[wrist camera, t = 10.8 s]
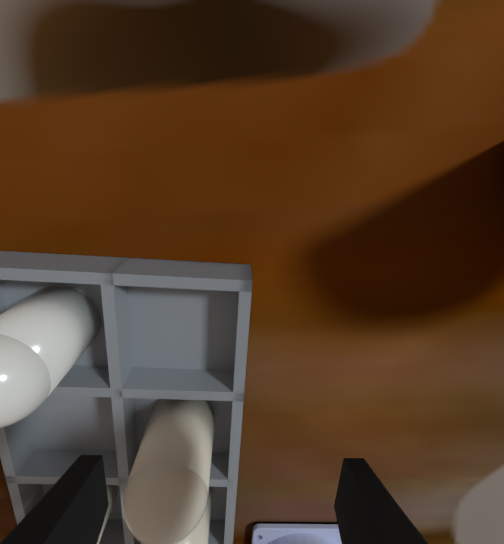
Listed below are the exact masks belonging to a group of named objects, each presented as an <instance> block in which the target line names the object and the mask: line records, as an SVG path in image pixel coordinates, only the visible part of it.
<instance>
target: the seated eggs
mask: <svg viewBox="0 0 504 544" xmlns="http://www.w3.org/2000/svg"><path fill="white" fill-rule="evenodd" d="M214 426H215V411H214V408H213V406H212V405H211V403H210V402H209V401H208V400H179V399H159V400H158V401H157V402H156V403H155V405H154V407H153V410H152V413H151V416H150V418H149V421H148V424H147V427H146V430H145V433H144V436H143V439H142V441H141V444H140V447H139V450H138V453H137V456H136V459H135V462H134V464H133V467H132V470H131V473H130V476H129V479H128V482H127V485H126V488H125V492H124V497H123V513H124V519H125V522H126V524H127V527H128V529H129V531H130V532H131V534H132V535H133V536H134V537H135V538H136V539H137V540H138V541H139V542H141V544H208V539H209V526H210V514H211V502H212V487H210V486H209V479H210V468H211V458H212V447H213V436H214ZM106 487H107V495H108V503H109V505H108V509H107V512H106V516H105V519H104V522H103V526H102V529H101V532H100V536H99V539H98V542H97V544H99V542H100V540H101V537H102V534H103V531H104V529H105V526H106V523H107V520H108V518H109V515H110V512H111V510H112V507H113V504H114V501H115V499H116V496H117V487H116V485H106Z"/></svg>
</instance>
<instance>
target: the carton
mask: <svg viewBox="0 0 504 544" xmlns="http://www.w3.org/2000/svg"><path fill="white" fill-rule="evenodd" d="M51 285H63V286H68V287H71V288H74V289H76V290H78V291H80V292H82V293H83V294H85V295H86V296H87V297H88V298H89V299H90V300H91V301H92V302H93V303H94V305H95V306H96V308H97V310H98V312H99V316H100V330H99V333H98V335H97V336H96V338H95V339H94V340H93V342H92V343H91V344H90V345H89V347H88V348H87V349H86V350H85V351H84V353H83V354H82V355H81V356H80V358H79V359H78V360H77V361H76V363H75V364H74V365H73V366H72V368H71V369H70V370H69V371H68V372H67V374H66V375H65V376H64V377H63V379H62V380H61V381H60V382H59V384H58V385H57V386H56V387H55V389H54V390H53V391H52V392H51V393H50V395H49V396H48V397H47V398H46V400H45V401H44V402H43V403H42V404H41V405H40V406H39V407H38V408H37V409H36V410H35V411H34V412H33V413H31V414H30V415H29V416H27V417H25V418H24V419H22V420H20V421H18V422H16V423H14V424H12V425H9V426H6V427H3V428H0V458H1V462H2V466H3V470H4V474H5V478H6V482H7V486H8V490H9V494H10V498H11V502H12V506H13V510H14V514H15V518H16V521H17V525H18V524H19V523H20V522H21V520H22V519H23V518H24V517H25V516H26V515H27V514H28V513H29V512H30V511H31V510H32V509H33V508H34V507H35V505H36V504H37V503H38V502H39V501H40V500H41V499H42V498H43V497H44V495H45V494H46V493H47V492H48V491H49V490H50V489H51V488H52V487H53V485H54V484H55V483H56V482H57V481H58V480H59V479H60V478H61V476H62V475H63V474H64V473H65V472H66V471H67V470H68V468H69V467H70V466H71V465H72V464H73V463H74V462H75V460H76V459H77V458H78V457H79V456H81V455H103V463H104V471H105V479H106V485H116V487H117V496H116V499H115V501H114V504H113V507H112V510H111V512H110V515H109V518H108V520H107V523H106V526H105V529H104V531H103V534H102V537H101V540H100V542H99V544H141V542H139V541H138V540H137V539H136V538H135V537H134V536H133V535H132V534H131V532H130V531H129V529H128V527H127V524H126V522H125V519H124V513H123V497H124V492H125V488H126V485H127V482H128V479H129V476H130V473H131V470H132V467H133V464H134V462H135V459H136V456H137V453H138V450H139V447H140V444H141V441H142V439H143V436H144V433H145V430H146V427H147V424H148V421H149V418H150V416H151V413H152V410H153V407H154V405H155V403H156V402H157V401H158V400H159V399H179V400H208V401H209V402H210V403H211V405H212V406H213V408H214V411H215V426H214V436H213V447H212V458H211V468H210V479H209V486H210V487H212V502H211V514H210V526H209V539H208V544H233V534H234V521H235V508H236V494H237V481H238V467H239V454H240V440H241V427H242V414H243V400H244V387H245V373H246V360H247V346H248V333H249V320H250V306H251V293H252V272H251V265H249V264H231V263H212V262H194V261H175V260H157V259H139V258H120V257H102V256H84V255H65V254H47V253H29V252H10V251H0V314H2V313H3V312H5V311H7V310H8V309H10V308H11V307H13V306H14V305H16V304H17V303H19V302H20V301H22V300H23V299H25V298H27V297H28V296H30V295H31V294H33V293H34V292H36V291H37V290H39V289H41V288H43V287H46V286H51Z"/></svg>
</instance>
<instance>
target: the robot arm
mask: <svg viewBox="0 0 504 544" xmlns="http://www.w3.org/2000/svg"><path fill="white" fill-rule="evenodd" d="M108 505H109V503H108V495H107V487H106V479H105V471H104V463H103V455H81V456H79V457H78V458H77V459H76V460H75V462H74V463H73V464H72V465H71V466H70V467H69V468H68V470H67V471H66V472H65V473H64V474H63V475H62V476H61V478H60V479H59V480H58V481H57V482H56V483H55V484H54V485H53V487H52V488H51V489H50V490H49V491H48V492H47V493H46V494H45V495H44V497H43V498H42V499H41V500H40V501H39V502H38V503H37V504H36V505H35V507H34V508H33V509H32V510H31V511H30V512H29V513H28V514H27V515H26V516H25V517H24V518H23V519H22V520H21V522H20V523H19V524H18V525H17V526H16V527H15V528H14V529H13V530H12V531H11V532H10V533H9V534H8V535H7V537H6V538H5V539H4V540H3V541H2V542H1V543H0V544H97V542H98V539H99V536H100V532H101V529H102V526H103V522H104V519H105V516H106V512H107V509H108ZM334 507H335V512H336V518H337V523H338V524H256V525H255V526H254V527H253V532H252V541H251V544H428V543H427V541H426V540H425V539H424V538H423V536H422V535H421V534H420V532H419V531H418V530H417V529H416V527H415V526H414V525H413V524H412V522H411V521H410V520H409V519H408V517H407V516H406V515H405V513H404V512H403V511H402V509H401V508H400V507H399V505H398V504H397V503H396V501H395V500H394V499H393V497H392V496H391V495H390V493H389V492H388V491H387V489H386V488H385V487H384V485H383V484H382V483H381V481H380V480H379V478H378V477H377V476H376V474H375V473H374V472H373V470H372V469H371V467H370V466H369V465H368V463H367V462H366V461H365V460H364V458H344V460H343V465H342V470H341V475H340V480H339V485H338V490H337V494H336V499H335V504H334Z"/></svg>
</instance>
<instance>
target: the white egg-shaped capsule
mask: <svg viewBox="0 0 504 544" xmlns="http://www.w3.org/2000/svg"><path fill="white" fill-rule="evenodd" d="M99 330H100V316H99V312H98V310H97V308H96V306H95V305H94V303H93V302H92V301H91V300H90V299H89V298H88V297H87V296H86V295H85V294H83V293H82V292H80V291H78V290H76V289H74V288H71V287H68V286H63V285H51V286H46V287H43V288H41V289H39V290H37V291H36V292H34V293H33V294H31V295H30V296H28V297H27V298H25V299H23V300H22V301H20V302H19V303H17V304H16V305H14V306H13V307H11V308H10V309H8V310H7V311H5V312H3V313H2V314H0V428H3V427H6V426H9V425H12V424H14V423H16V422H18V421H20V420H22V419H24V418H25V417H27V416H29V415H30V414H31V413H33V412H34V411H35V410H36V409H37V408H38V407H39V406H40V405H41V404H42V403H43V402H44V401H45V400H46V398H47V397H48V396H49V395H50V393H51V392H52V391H53V390H54V389H55V387H56V386H57V385H58V384H59V382H60V381H61V380H62V379H63V377H64V376H65V375H66V374H67V372H68V371H69V370H70V369H71V368H72V366H73V365H74V364H75V363H76V361H77V360H78V359H79V358H80V356H81V355H82V354H83V353H84V351H85V350H86V349H87V348H88V347H89V345H90V344H91V343H92V342H93V340H94V339H95V338H96V336H97V335H98V333H99Z"/></svg>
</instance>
